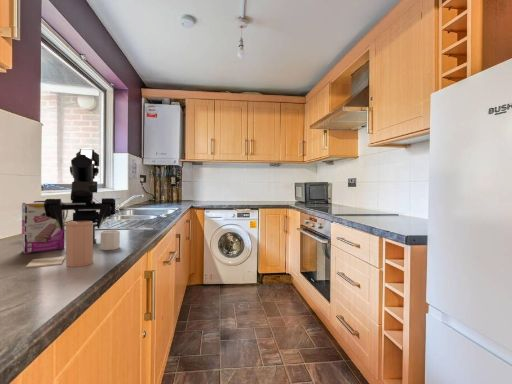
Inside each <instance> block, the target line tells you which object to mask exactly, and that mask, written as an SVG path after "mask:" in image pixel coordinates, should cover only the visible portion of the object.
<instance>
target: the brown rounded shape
mask: <svg viewBox="0 0 512 384" xmlns="http://www.w3.org/2000/svg"><path fill="white" fill-rule="evenodd" d="M93 224H94V223H93V221H73V220H72V221H67V222H66V225H65V266H66V267H69V268H70V267H71V268H76V267H85V266H88V265H92V264H93V263H94V243H93Z"/></svg>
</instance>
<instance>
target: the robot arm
mask: <svg viewBox="0 0 512 384" xmlns="http://www.w3.org/2000/svg"><path fill="white" fill-rule="evenodd" d="M70 160H71V161H70V163H71V164H70V166H69V172H70V175H71V176H72V178H73V181H72V182H71V189H70V190H71V191H70V201H71V202H63V203H61V202H62V198H46V199H45V200H43V201H44V209H45V213H46V216H47V217H51V218H52V219H56V221H57V222H58V224H59V226H60V229H61V230H63V216H62V210H65V211H66V210H68V211H69V210H71V211H72V210H73V211H72V221H93V244H94V243H95V244H96V243H97V238H96V227H97V229H100V228H101V226H102V225H103V223H104V221H105V220H106V219H107V218H109V217H111V216H114V215H115V214H116V199H115V198H113V197H110V198H109V197H108V198H107V197H105V198H101V202H99V203H98V202H96V201H93V200H94V193H96V194H97V193H98V181H94V180H95V178H96V177H97V176H98V174H99V171H100V170H99V169H100V168H99V167H100V154H98V153H97V152H95V149H94V148H89V147H81V148H79V151H78V152H76V154H75V157H72V159H70Z"/></svg>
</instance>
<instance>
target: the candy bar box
mask: <svg viewBox="0 0 512 384" xmlns="http://www.w3.org/2000/svg"><path fill="white" fill-rule="evenodd" d="M61 203H64V202H62V201H61ZM62 216H63V230H61V229H60V226H59V224H58V222H57V221H56V219H52V218H51V217H47V216H46V213H45V209H44V202H36V203H34V202H22V203H21V252H22V253H23V254H24V255H28V254H34V253H35V254H36V253H42V252H50V251H55V250H63V249H65V222H64V219H65V217H66V210H62Z"/></svg>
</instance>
